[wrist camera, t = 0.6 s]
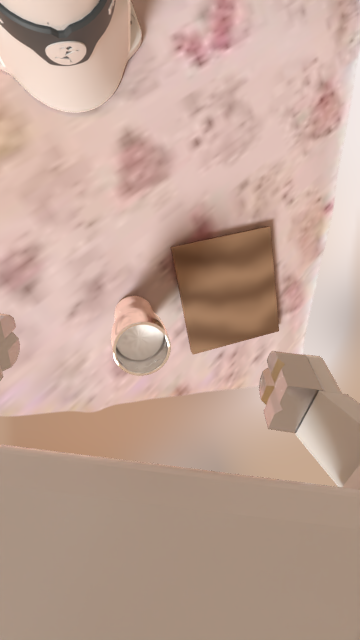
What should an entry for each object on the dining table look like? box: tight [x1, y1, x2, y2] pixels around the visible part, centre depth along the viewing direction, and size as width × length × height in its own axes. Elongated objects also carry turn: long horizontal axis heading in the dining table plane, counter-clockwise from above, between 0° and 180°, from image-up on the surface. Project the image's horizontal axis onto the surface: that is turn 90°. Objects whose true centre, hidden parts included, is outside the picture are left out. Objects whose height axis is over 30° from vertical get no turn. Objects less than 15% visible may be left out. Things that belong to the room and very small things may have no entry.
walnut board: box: [171, 227, 279, 354], centre depth 49 cm, size 18×16×2 cm
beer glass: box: [111, 296, 171, 376], centre depth 40 cm, size 7×7×15 cm
